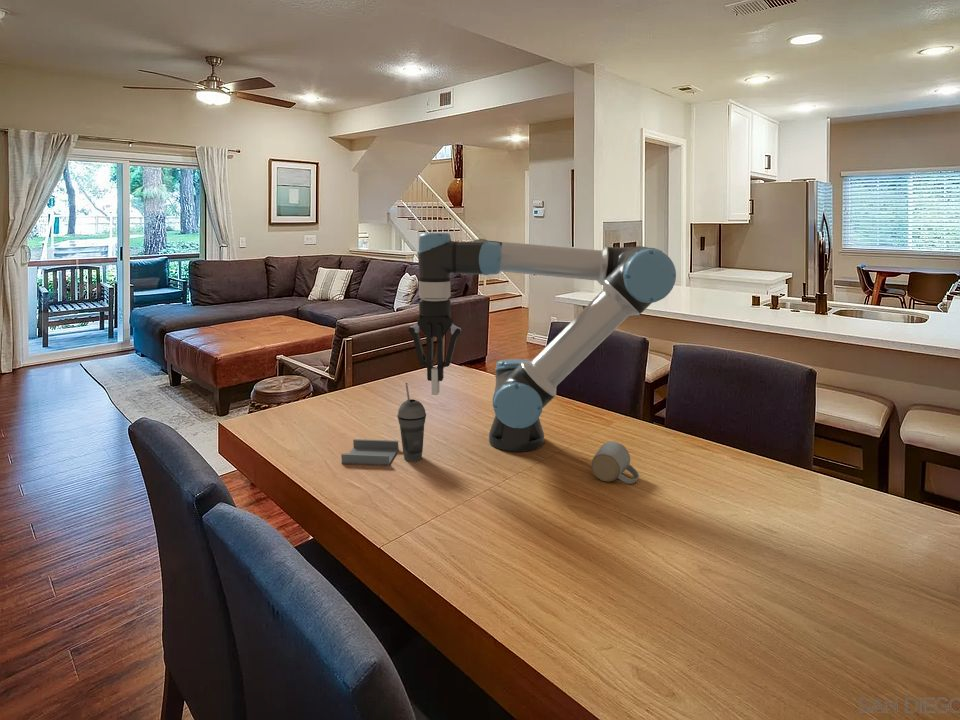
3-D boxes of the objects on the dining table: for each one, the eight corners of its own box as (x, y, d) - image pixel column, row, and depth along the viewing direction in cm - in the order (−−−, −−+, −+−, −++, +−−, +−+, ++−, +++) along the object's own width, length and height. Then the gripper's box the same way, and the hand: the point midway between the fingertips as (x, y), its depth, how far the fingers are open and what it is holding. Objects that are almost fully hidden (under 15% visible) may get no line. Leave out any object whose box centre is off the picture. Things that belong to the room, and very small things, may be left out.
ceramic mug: (588, 479, 138) (590, 449, 136) (598, 467, 145) (600, 438, 143) (633, 490, 133) (636, 459, 131) (641, 476, 140) (644, 446, 138)
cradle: (398, 449, 156) (398, 440, 155) (388, 465, 145) (388, 456, 145) (354, 447, 157) (354, 439, 156) (341, 463, 146) (341, 454, 146)
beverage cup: (422, 465, 146) (420, 388, 141) (394, 462, 147) (391, 386, 143) (430, 453, 153) (429, 380, 148) (403, 451, 154) (401, 378, 149)
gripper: (463, 297, 143) (463, 389, 148) (411, 296, 144) (412, 388, 150) (459, 301, 135) (459, 398, 141) (404, 300, 137) (406, 396, 142)
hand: (435, 393), depth 145 cm, fingers closed
